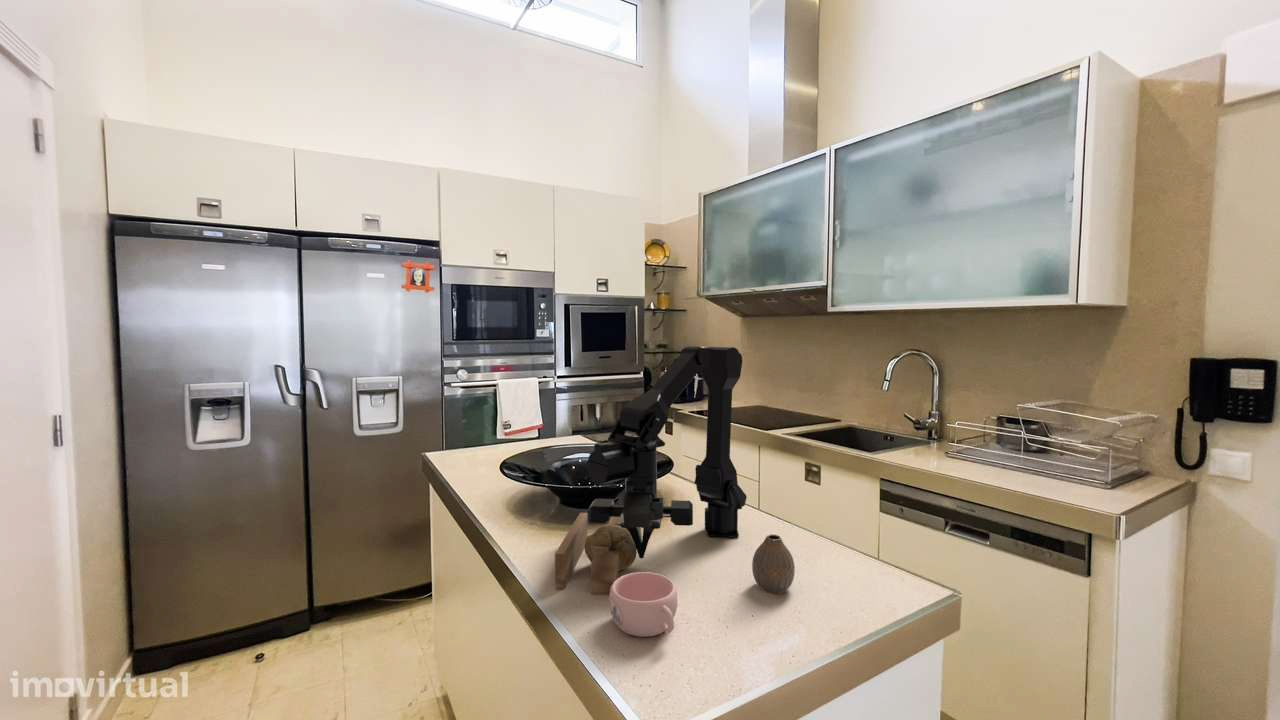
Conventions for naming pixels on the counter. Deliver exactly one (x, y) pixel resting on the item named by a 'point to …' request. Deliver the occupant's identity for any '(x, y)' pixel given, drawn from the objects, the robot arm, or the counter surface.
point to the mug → (643, 603)
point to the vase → (773, 565)
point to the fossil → (612, 544)
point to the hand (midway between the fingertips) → (641, 557)
